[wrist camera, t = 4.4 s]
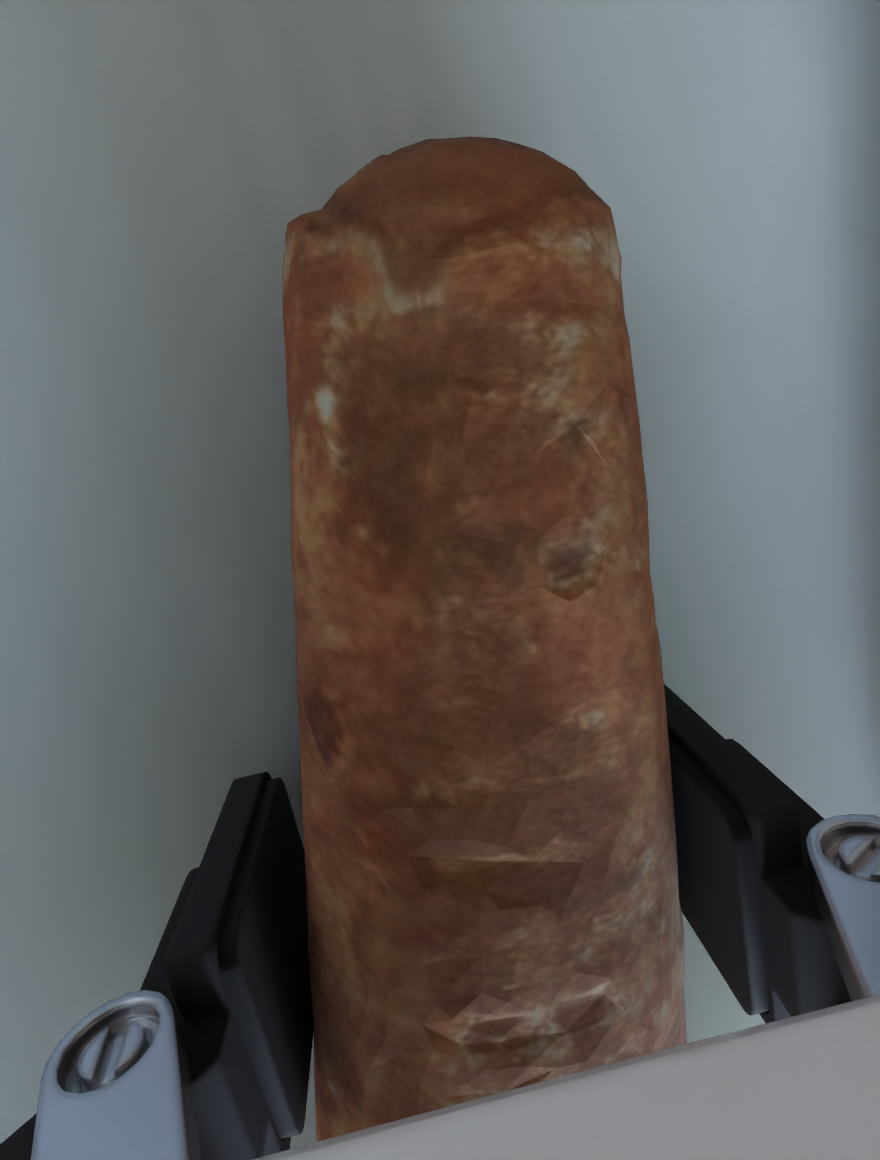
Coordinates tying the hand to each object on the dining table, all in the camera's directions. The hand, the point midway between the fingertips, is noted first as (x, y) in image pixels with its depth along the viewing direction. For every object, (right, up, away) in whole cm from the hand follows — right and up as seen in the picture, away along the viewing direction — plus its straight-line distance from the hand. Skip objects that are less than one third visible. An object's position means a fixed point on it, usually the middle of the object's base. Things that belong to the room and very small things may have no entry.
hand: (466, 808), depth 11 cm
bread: (-1, 0, +1) cm, 1 cm away
